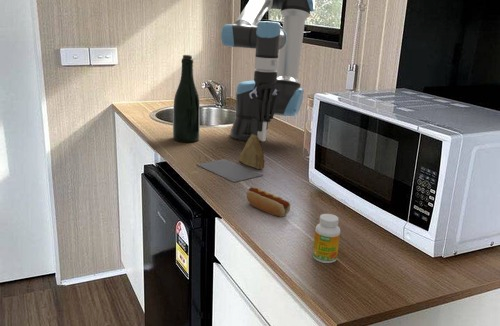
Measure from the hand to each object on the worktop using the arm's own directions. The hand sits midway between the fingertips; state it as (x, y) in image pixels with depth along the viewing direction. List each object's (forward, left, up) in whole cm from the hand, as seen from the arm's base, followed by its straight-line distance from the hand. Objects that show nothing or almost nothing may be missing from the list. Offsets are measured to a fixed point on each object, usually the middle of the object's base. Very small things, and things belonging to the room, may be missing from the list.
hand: (261, 140), depth 167 cm
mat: (+13, 0, -9) cm, 16 cm away
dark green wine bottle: (+4, -39, -9) cm, 40 cm away
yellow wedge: (+3, 0, -9) cm, 9 cm away
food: (+25, +31, -9) cm, 41 cm away
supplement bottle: (+32, +58, -9) cm, 67 cm away
